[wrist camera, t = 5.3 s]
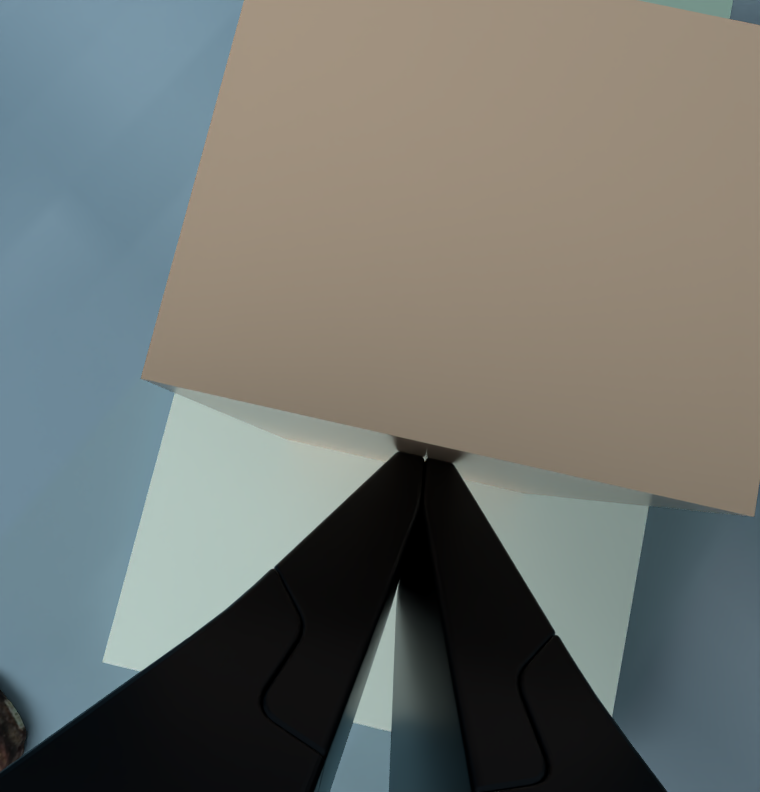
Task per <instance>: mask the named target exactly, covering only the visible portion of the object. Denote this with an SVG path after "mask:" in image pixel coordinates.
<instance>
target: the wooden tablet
mask: <svg viewBox="0 0 760 792" xmlns="http://www.w3.org/2000/svg"><path fill="white" fill-rule="evenodd" d="M25 739H26V729H25V726H24V724H23V721H22V719H21V717H20V715H19V714H18V712H17V711H16V709H15V708H14V706H13V705H12V703H11V702H10V701H9V700H8V699H7V698H6V696H5V695H4V694H3V692H2V691H1V690H0V771H2V770H3V769H5V768H6V767H7V766H9V765H10V764H12V763H13V762H14V761H16V760H17V759H19V758H20V757H21V756H22V754H23V752H24V742H25Z"/></svg>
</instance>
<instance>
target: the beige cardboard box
mask: <svg viewBox="0 0 760 792" xmlns="http://www.w3.org/2000/svg"><path fill="white" fill-rule="evenodd" d="M141 379H143V380H145V381H148V382H150V383H152V384H155V385H157V386H160V387H162V388H164V389H167V390H169V391H172V392H174V393H176V394H179V395H181V396H183V397H186V398H188V399H191V400H193V401H195V402H198V403H200V404H203V405H205V406H207V407H210V408H212V409H215V410H217V411H219V412H222V413H224V414H226V415H229V416H231V417H234V418H236V419H238V420H241V421H243V422H246V423H248V424H250V425H253V426H255V427H258V428H260V429H262V430H265V431H267V432H269V433H272V434H274V435H277V436H279V437H281V438H284V439H286V440H291V441H295V442H299V443H304V444H308V445H313V446H317V447H322V448H326V449H330V450H335V451H339V452H344V453H348V454H352V455H357V456H361V457H366V458H370V459H374V460H379V461H383V462H387V461H388V460H389V459H390V458H391V457H392V456H393V455H394V454H395V453H396V452H398V451H400V452H405V453H409V454H414V455H418V456H422V457H423V458H424V460H426V459H427V458H431V459H436V460H440V461H445V462H449V463H452V464H454V466H455V467H456V469H457V470H458V472H459V474H460V475H461V477H462V479H463V480H467V481H471V482H476V483H480V484H485V485H489V486H494V487H498V488H502V489H507V490H511V491H516V492H520V493H524V494H534V495H544V496H554V497H563V498H573V499H583V500H593V501H603V502H612V503H622V504H632V505H642V506H652V507H662V508H671V509H681V510H691V511H701V512H711V513H720V514H730V515H740V516H750V517H754V515H755V508H756V502H757V495H758V489H759V482H760V25H756V24H751V23H746V22H742V21H737V20H732V19H727V18H722V17H717V16H712V15H707V14H702V13H698V12H693V11H688V10H683V9H678V8H673V7H668V6H663V5H659V4H654V3H649V2H644V1H639V0H244V3H243V7H242V10H241V14H240V18H239V21H238V25H237V28H236V32H235V36H234V39H233V43H232V47H231V50H230V54H229V58H228V61H227V65H226V69H225V72H224V76H223V80H222V83H221V87H220V91H219V94H218V98H217V102H216V105H215V109H214V113H213V116H212V120H211V123H210V127H209V131H208V134H207V138H206V142H205V145H204V149H203V153H202V156H201V160H200V164H199V167H198V171H197V175H196V178H195V182H194V186H193V189H192V193H191V197H190V200H189V204H188V207H187V211H186V215H185V218H184V222H183V226H182V229H181V233H180V237H179V240H178V244H177V248H176V251H175V255H174V259H173V262H172V266H171V270H170V273H169V277H168V281H167V284H166V288H165V292H164V295H163V299H162V302H161V306H160V310H159V313H158V317H157V321H156V324H155V328H154V332H153V335H152V339H151V343H150V346H149V350H148V354H147V357H146V361H145V365H144V368H143V372H142V376H141Z"/></svg>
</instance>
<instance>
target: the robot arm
mask: <svg viewBox="0 0 760 792" xmlns="http://www.w3.org/2000/svg"><path fill="white" fill-rule="evenodd" d="M397 587H398V590H397ZM396 590H397V601H396V621H395V647H394V673H393V699H392V725H391V751H390V777H389V792H667V791H666V789H665V788H664V787H663V785H662V784H661V783H660V781H659V780H658V779H657V777H656V776H655V775H654V773H653V772H652V771H651V769H650V768H649V767H648V765H647V764H646V763H645V761H644V760H643V759H642V757H641V756H640V755H639V753H638V752H637V751H636V749H635V748H634V747H633V745H632V744H631V743H630V741H629V740H628V739H627V737H626V736H625V735H624V733H623V732H622V730H621V729H620V728H619V726H618V725H617V723H616V722H615V721H614V719H613V718H612V716H611V715H610V714H609V712H608V711H607V709H606V708H605V707H604V705H603V704H602V702H601V701H600V700H599V698H598V697H597V695H596V694H595V692H594V691H593V689H592V688H591V686H590V685H589V683H588V681H587V680H586V678H585V677H584V675H583V674H582V672H581V671H580V669H579V668H578V666H577V664H576V663H575V661H574V660H573V658H572V657H571V655H570V653H569V652H568V650H567V648H566V647H565V645H564V643H563V642H562V640H561V638H560V637H559V636H558V635H555V630H554V629H553V627H552V625H551V624H550V622H549V620H548V619H547V617H546V615H545V614H544V612H543V610H542V609H541V607H540V606H539V604H538V602H537V601H536V599H535V597H534V596H533V594H532V592H531V591H530V589H529V587H528V586H527V584H526V582H525V581H524V579H523V577H522V576H521V574H520V573H519V571H518V569H517V568H516V566H515V564H514V563H513V561H512V559H511V558H510V556H509V554H508V553H507V551H506V549H505V548H504V546H503V544H502V543H501V541H500V540H499V538H498V536H497V535H496V533H495V531H494V530H493V528H492V526H491V525H490V523H489V521H488V520H487V518H486V516H485V515H484V513H483V512H482V510H481V508H480V507H479V505H478V503H477V502H476V500H475V498H474V497H473V495H472V493H471V492H470V490H469V488H468V487H467V485H466V483H465V482H464V480H463V479H462V477H461V475H460V474H459V472H458V470H457V469H456V467H455V466H454V464H452V463H449V462H445V461H440V460H436V459H431V458H427V459H426V460H424V458H423V457H422V456H418V455H414V454H409V453H405V452H400V451H398V452H396V453H395V454H394V455H393V456H392V457H391V458H390V459H389V460H388V461H387V462H385V463H384V464H383V465H382V466H381V467H380V468H379V469H378V470H377V471H376V472H375V473H374V474H373V475H372V476H371V477H369V478H368V479H367V480H366V481H365V482H364V483H363V484H362V485H361V486H360V487H359V488H358V489H357V490H356V491H354V492H353V493H352V494H351V495H350V496H349V497H348V498H347V499H346V500H345V501H344V502H343V503H342V504H341V505H340V506H338V507H337V508H336V509H335V510H334V511H333V512H332V513H331V514H330V515H329V516H328V517H327V518H326V519H325V520H323V521H322V522H321V523H320V524H319V525H318V526H317V527H316V528H315V529H314V530H313V531H312V532H311V533H310V534H309V535H307V536H306V537H305V538H304V539H303V540H302V541H301V542H300V543H299V544H298V545H297V546H296V547H295V548H294V549H292V550H291V551H290V552H289V553H288V554H287V555H286V556H285V557H284V558H283V559H282V560H281V561H280V562H279V563H278V564H276V565H275V567H274V569H270V570H269V571H268V572H267V573H266V574H265V575H264V576H263V577H262V578H260V579H259V580H258V581H257V582H256V583H255V584H254V585H253V586H252V587H251V588H250V589H248V590H247V591H246V592H245V593H244V594H243V595H241V596H240V597H239V598H238V599H237V600H236V601H235V602H233V603H232V604H231V605H230V606H229V607H228V608H226V609H225V610H224V611H223V612H221V613H220V614H219V615H217V616H216V617H215V618H213V619H212V620H211V621H209V622H208V623H207V624H205V625H204V626H203V627H202V628H200V629H199V630H198V631H196V632H195V633H194V634H192V635H191V636H190V637H188V638H187V639H185V640H184V641H183V642H181V643H180V644H178V645H177V646H176V647H174V648H173V649H171V650H170V651H169V652H167V653H166V654H164V655H163V656H162V657H160V658H159V659H157V660H156V661H155V662H153V663H152V664H150V665H149V666H147V667H146V668H145V669H143V670H142V671H140V672H139V673H138V674H136V675H135V676H133V677H132V678H131V679H129V680H128V681H126V682H125V683H124V684H122V685H121V686H119V687H118V688H117V689H115V690H114V691H112V692H111V693H110V694H108V695H107V696H105V697H104V698H103V699H101V700H100V701H98V702H97V703H96V704H94V705H93V706H91V707H90V708H89V709H87V710H86V711H84V712H83V713H82V714H80V715H79V716H77V717H76V718H75V719H73V720H72V721H70V722H69V723H68V724H66V725H65V726H63V727H62V728H61V729H59V730H58V731H56V732H55V733H54V734H52V735H51V736H49V737H48V738H47V739H45V740H44V741H42V742H41V743H40V744H38V745H37V746H35V747H34V748H33V749H31V750H30V751H28V752H27V753H26V754H24V755H23V756H21V757H20V758H19V759H17V760H16V761H14V762H13V763H12V764H10V765H9V766H7V767H6V768H5V769H3V770H2V771H0V792H330V789H331V786H332V783H333V780H334V777H335V774H336V771H337V768H338V766H339V763H340V760H341V757H342V754H343V751H344V748H345V745H346V742H347V739H348V736H349V733H350V730H351V727H352V724H353V721H354V718H355V715H356V712H357V709H358V706H359V703H360V700H361V697H362V694H363V691H364V688H365V685H366V682H367V679H368V676H369V673H370V670H371V667H372V664H373V661H374V658H375V655H376V652H377V649H378V646H379V643H380V640H381V637H382V634H383V631H384V628H385V625H386V622H387V619H388V616H389V613H390V610H391V607H392V604H393V600H394V597H395V594H396Z"/></svg>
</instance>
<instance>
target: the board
mask: <svg viewBox="0 0 760 792" xmlns="http://www.w3.org/2000/svg"><path fill="white" fill-rule="evenodd" d="M639 1H644V2H649V3H654V4H659V5H663V6H668V7H673V8H678V9H683V10H688V11H693V12H698V13H702V14H707V15H712V16H717V17H722V18H727V19H730V14H731V8H732V3H733V0H639ZM384 463H385V462H383V461H379V460H374V459H370V458H366V457H361V456H357V455H352V454H348V453H344V452H339V451H335V450H330V449H326V448H322V447H317V446H313V445H308V444H304V443H299V442H295V441H291V440H286V439H284V438H281V437H279V436H277V435H274V434H272V433H269V432H267V431H265V430H262V429H260V428H258V427H255V426H253V425H250V424H248V423H246V422H243V421H241V420H238V419H236V418H234V417H231V416H229V415H226V414H224V413H222V412H219V411H217V410H215V409H212V408H210V407H207V406H205V405H203V404H200V403H198V402H195V401H193V400H191V399H188V398H186V397H183V396H181V395H179V394H176V393H175V394H174V398H173V402H172V405H171V409H170V413H169V417H168V420H167V424H166V428H165V431H164V435H163V439H162V443H161V446H160V450H159V454H158V457H157V461H156V465H155V469H154V472H153V476H152V480H151V483H150V487H149V491H148V495H147V498H146V502H145V506H144V509H143V513H142V517H141V521H140V524H139V528H138V532H137V535H136V539H135V543H134V547H133V550H132V554H131V558H130V561H129V565H128V569H127V573H126V576H125V580H124V584H123V587H122V591H121V595H120V599H119V602H118V606H117V610H116V613H115V617H114V621H113V625H112V628H111V632H110V636H109V639H108V643H107V647H106V651H105V654H104V658H103V663H107V664H112V665H116V666H120V667H124V668H128V669H132V670H137V671H142V670H143V669H145V668H146V667H147V666H149V665H150V664H152V663H153V662H155V661H156V660H157V659H159V658H160V657H162V656H163V655H164V654H166V653H167V652H169V651H170V650H171V649H173V648H174V647H176V646H177V645H178V644H180V643H181V642H183V641H184V640H185V639H187V638H188V637H190V636H191V635H192V634H194V633H195V632H196V631H198V630H199V629H200V628H202V627H203V626H204V625H205V624H207V623H208V622H209V621H211V620H212V619H213V618H215V617H216V616H217V615H219V614H220V613H221V612H223V611H224V610H225V609H226V608H228V607H229V606H230V605H231V604H232V603H233V602H235V601H236V600H237V599H238V598H239V597H240V596H241V595H243V594H244V593H245V592H246V591H247V590H248V589H250V588H251V587H252V586H253V585H254V584H255V583H256V582H257V581H258V580H259V579H260V578H262V577H263V576H264V575H265V574H266V573H267V572H268V571H269V570H270V569H274V567H275V565H276V564H278V563H279V562H280V561H281V560H282V559H283V558H284V557H285V556H286V555H287V554H288V553H289V552H290V551H291V550H292V549H294V548H295V547H296V546H297V545H298V544H299V543H300V542H301V541H302V540H303V539H304V538H305V537H306V536H307V535H309V534H310V533H311V532H312V531H313V530H314V529H315V528H316V527H317V526H318V525H319V524H320V523H321V522H322V521H323V520H325V519H326V518H327V517H328V516H329V515H330V514H331V513H332V512H333V511H334V510H335V509H336V508H337V507H338V506H340V505H341V504H342V503H343V502H344V501H345V500H346V499H347V498H348V497H349V496H350V495H351V494H352V493H353V492H354V491H356V490H357V489H358V488H359V487H360V486H361V485H362V484H363V483H364V482H365V481H366V480H367V479H368V478H369V477H371V476H372V475H373V474H374V473H375V472H376V471H377V470H378V469H379V468H380V467H381V466H382V465H383V464H384ZM464 482H465V483H466V485H467V487H468V488H469V490H470V492H471V493H472V495H473V497H474V498H475V500H476V502H477V503H478V505H479V507H480V508H481V510H482V512H483V513H484V515H485V516H486V518H487V520H488V521H489V523H490V525H491V526H492V528H493V530H494V531H495V533H496V535H497V536H498V538H499V540H500V541H501V543H502V544H503V546H504V548H505V549H506V551H507V553H508V554H509V556H510V558H511V559H512V561H513V563H514V564H515V566H516V568H517V569H518V571H519V573H520V574H521V576H522V577H523V579H524V581H525V582H526V584H527V586H528V587H529V589H530V591H531V592H532V594H533V596H534V597H535V599H536V601H537V602H538V604H539V606H540V607H541V609H542V610H543V612H544V614H545V615H546V617H547V619H548V620H549V622H550V624H551V625H552V627H553V629H554V630H555V635H558V636H559V637H560V638H561V640H562V642H563V643H564V645H565V647H566V648H567V650H568V652H569V653H570V655H571V657H572V658H573V660H574V661H575V663H576V664H577V666H578V668H579V669H580V671H581V672H582V674H583V675H584V677H585V678H586V680H587V681H588V683H589V685H590V686H591V688H592V689H593V691H594V692H595V694H596V695H597V697H598V698H599V700H600V701H601V702H602V704H603V705H604V707H605V708H606V709H607V711H608V712H609V714H610V715H611V716H612V714H613V709H614V703H615V697H616V692H617V686H618V680H619V674H620V669H621V663H622V657H623V652H624V646H625V640H626V634H627V629H628V623H629V617H630V612H631V606H632V600H633V594H634V589H635V583H636V577H637V572H638V566H639V560H640V554H641V549H642V543H643V537H644V532H645V526H646V520H647V514H648V509H649V506H642V505H632V504H622V503H612V502H603V501H593V500H583V499H573V498H563V497H554V496H544V495H534V494H524V493H520V492H516V491H511V490H507V489H502V488H498V487H494V486H489V485H485V484H480V483H476V482H471V481H467V480H464ZM397 590H398V587H397ZM397 590H396V594H395V597H394V600H393V604H392V607H391V610H390V613H389V616H388V619H387V622H386V625H385V628H384V631H383V634H382V637H381V640H380V643H379V646H378V649H377V652H376V655H375V658H374V661H373V664H372V667H371V670H370V673H369V676H368V679H367V682H366V685H365V688H364V691H363V694H362V697H361V700H360V703H359V706H358V709H357V712H356V715H355V718H354V721H353V723H357V724H361V725H365V726H369V727H373V728H377V729H382V730H386V731H390V732H391V725H392V699H393V673H394V647H395V621H396V601H397Z"/></svg>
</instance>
